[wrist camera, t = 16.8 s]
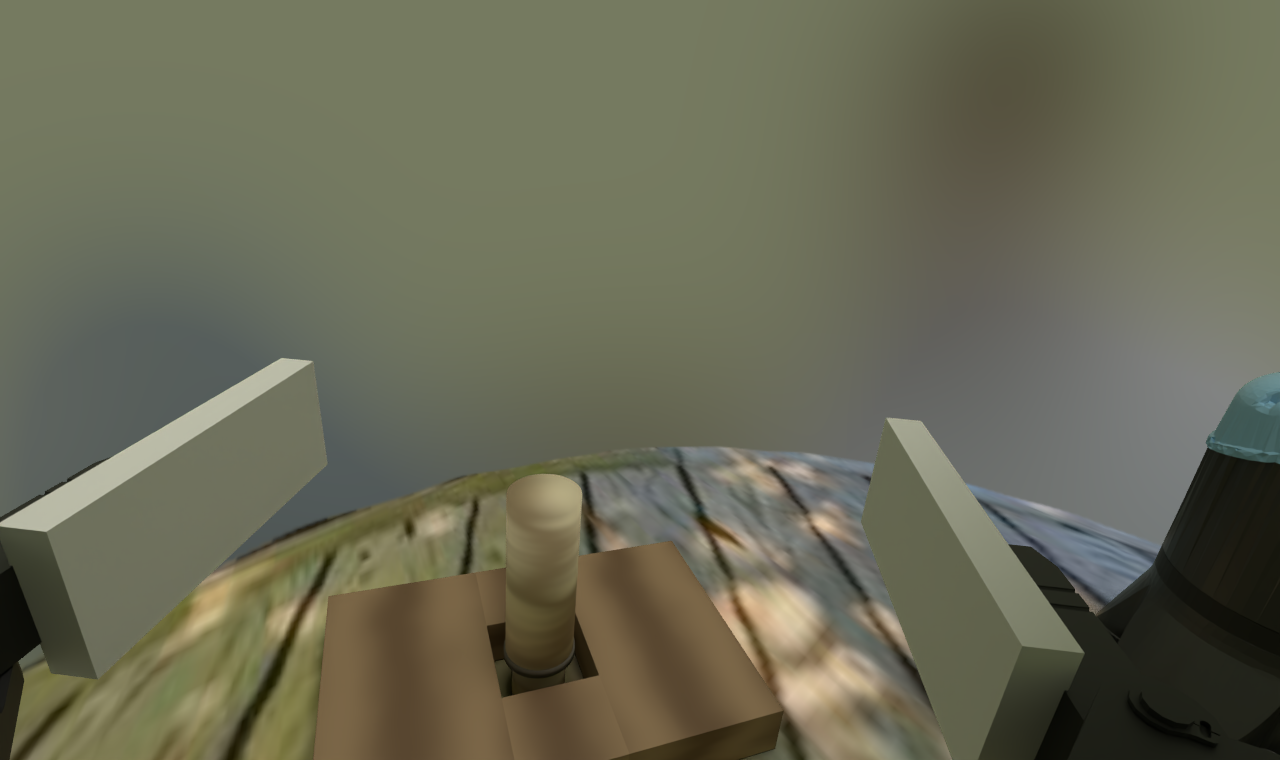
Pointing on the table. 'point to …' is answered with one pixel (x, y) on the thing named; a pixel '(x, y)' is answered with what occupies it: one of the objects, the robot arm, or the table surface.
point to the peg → (541, 579)
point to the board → (554, 716)
